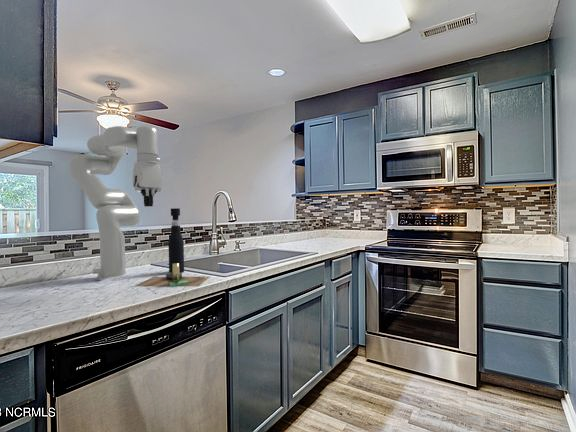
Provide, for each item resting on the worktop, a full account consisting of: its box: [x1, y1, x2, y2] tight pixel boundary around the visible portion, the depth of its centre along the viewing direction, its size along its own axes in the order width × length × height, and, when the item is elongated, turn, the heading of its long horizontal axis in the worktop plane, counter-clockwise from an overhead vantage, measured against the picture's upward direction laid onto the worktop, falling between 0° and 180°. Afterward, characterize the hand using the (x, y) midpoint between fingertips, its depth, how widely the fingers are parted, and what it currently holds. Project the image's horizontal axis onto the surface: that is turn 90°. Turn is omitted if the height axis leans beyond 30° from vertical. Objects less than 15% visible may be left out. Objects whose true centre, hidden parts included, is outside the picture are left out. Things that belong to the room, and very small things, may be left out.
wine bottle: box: [167, 207, 185, 274], centre depth 142 cm, size 6×6×30 cm
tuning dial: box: [165, 263, 183, 282], centre depth 124 cm, size 16×6×8 cm, turn 24°
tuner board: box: [135, 275, 211, 287], centre depth 125 cm, size 24×16×2 cm
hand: (148, 206), depth 125 cm, fingers closed
